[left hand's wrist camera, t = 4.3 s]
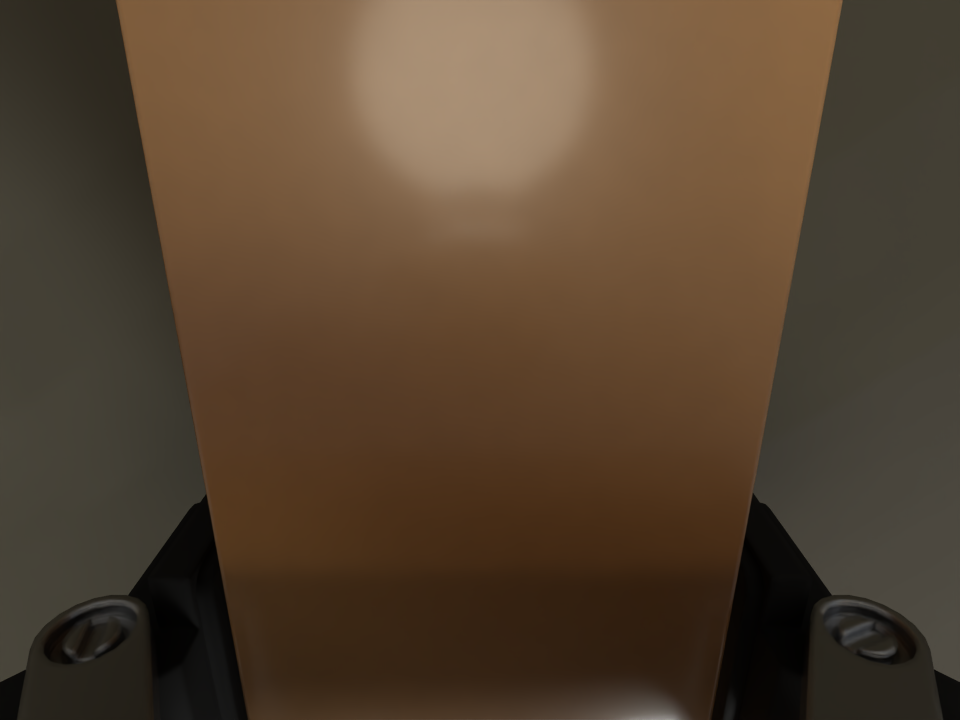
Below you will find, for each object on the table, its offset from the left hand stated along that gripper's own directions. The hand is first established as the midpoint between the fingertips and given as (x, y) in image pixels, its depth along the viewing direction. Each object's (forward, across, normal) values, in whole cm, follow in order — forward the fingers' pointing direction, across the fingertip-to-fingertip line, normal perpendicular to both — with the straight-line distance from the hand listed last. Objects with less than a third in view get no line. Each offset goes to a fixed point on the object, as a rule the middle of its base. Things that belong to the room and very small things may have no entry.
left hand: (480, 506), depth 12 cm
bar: (+4, 0, -26) cm, 27 cm away
